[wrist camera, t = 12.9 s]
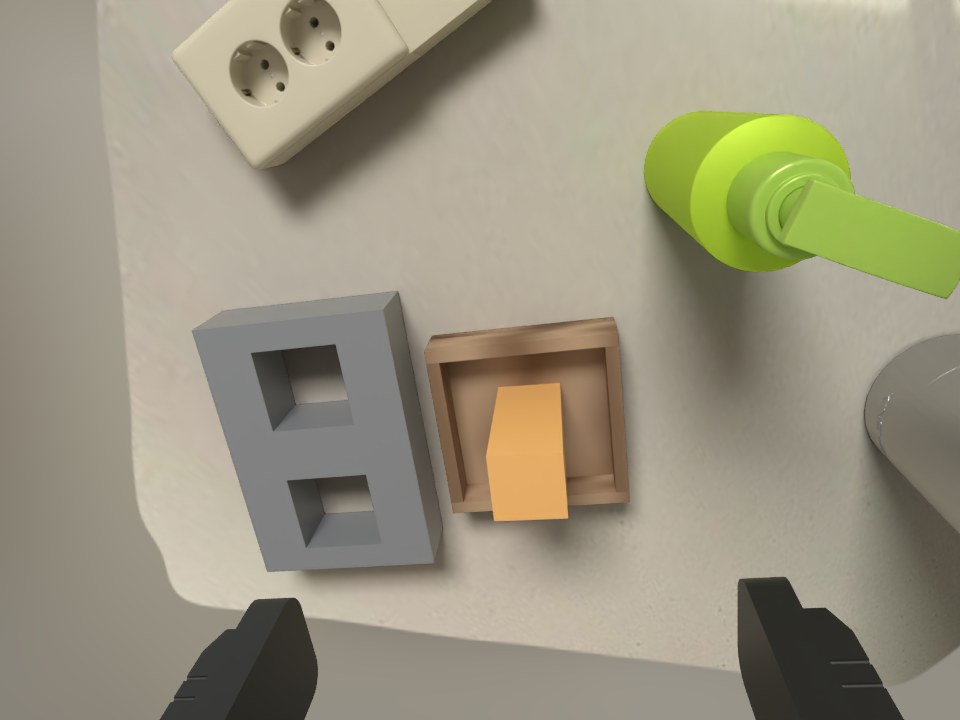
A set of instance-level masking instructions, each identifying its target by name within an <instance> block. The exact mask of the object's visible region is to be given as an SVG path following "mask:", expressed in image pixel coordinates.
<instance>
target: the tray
mask: <svg viewBox="0 0 960 720" xmlns="http://www.w3.org/2000/svg"><path fill="white" fill-rule="evenodd" d="M424 354H425V360H426V365H427V371H428V376H429V382H430V387H431V393H432V398H433V404H434V409H435V415H436V420H437V426H438V431H439V437H440V442H441V448H442V453H443V459H444V464H445V470H446V475H447V481H448V486H449V492H450V497H451V503H452V508H453V513H465V512H480V511H493V508H492V501H491V493H490V485H489V477H488V469H487V461H486V454H487V448H488V442H489V437H490V431H491V425H492V420H493V414H494V408H495V403H496V397H497V391H498V387H509V386H524V385H539V384H554V383H560V388H561V401H562V414H563V427H564V440H565V461H566V482H567V502H568V506H576V505H592V504H608V503H624V502H630V497H629V483H628V468H627V454H626V439H625V425H624V410H623V396H622V381H621V367H620V352H619V338H618V331H617V327H616V324H615V321H614V317H609V318H599V319H589V320H580V321H570V322H560V323H551V324H541V325H531V326H521V327H512V328H502V329H492V330H482V331H473V332H463V333H453V334H443V335H434V336H432V337H431V339H430V341H429V343H428V345H427V347H426V349H425V351H424Z"/></svg>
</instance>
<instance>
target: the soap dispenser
mask: <svg viewBox="0 0 960 720" xmlns="http://www.w3.org/2000/svg"><path fill="white" fill-rule="evenodd" d="M644 177H645V183H646V186H647V189H648V192H649V194H650V195H651V197H652V199H653V200H654V201H655V203H656V204H657V205H658V206H659V207H660V208H661V209H662V210H663V211H665V212H666V213H667V214H668V215H669V216H670V217H671V218H672V219H673V220H674V221H675V222H676V223H678V224H679V225H680V226H681V227H682V228H683V229H684V230H685V231H686V232H687V233H688V234H689V235H691V236H692V237H693V238H694V239H695V240H696V241H697V242H698V243H699V244H700V245H701V246H702V247H703V248H705V249H706V250H707V251H708V252H709V253H710V254H711V255H712V256H713V257H715V258H716V259H717V260H719V261H721V262H722V263H724V264H726V265H728V266H730V267H733V268H736V269H739V270H744V271H750V272H768V271H774V270H779V269H783V268H786V267H789V266H791V265H794V264H796V263H798V262H800V261H802V260H804V259H808V258H812V257H815V256H820V257H822V258H825V259H828V260H831V261H834V262H837V263H839V264H842V265H845V266H848V267H851V268H854V269H856V270H859V271H862V272H865V273H868V274H871V275H874V276H877V277H880V278H882V279H885V280H888V281H891V282H894V283H897V284H900V285H903V286H906V287H910V288H913V289H916V290H919V291H922V292H925V293H928V294H931V295H935V296H938V297H941V298H945V299H947V298H948V297H949V296H950V295H951V293H952V292H953V290H954V289H955V287H956V286H957V284H958V282H959V281H960V231H958V230H955V229H952V228H950V227H947V226H944V225H941V224H939V223H936V222H933V221H930V220H927V219H925V218H922V217H919V216H916V215H913V214H910V213H908V212H905V211H902V210H899V209H896V208H893V207H890V206H888V205H885V204H882V203H879V202H876V201H873V200H870V199H868V198H865V197H862V196H859V195H856V194H855V190H854V187H853V184H852V182H851V174H850V168H849V164H848V160H847V157H846V155H845V153H844V151H843V149H842V147H841V145H840V144H839V142H838V141H837V140H836V139H835V137H834V136H833V135H832V134H831V133H830V132H829V131H827V130H826V129H825V128H824V127H822V126H821V125H819V124H817V123H815V122H813V121H811V120H808V119H806V118H802V117H799V116H793V115H780V114H758V113H736V112H714V111H697V112H691V113H688V114H685V115H682V116H680V117H678V118H676V119H674V120H673V121H671V122H670V123H668V124H667V125H666V126H665V127H664V128H663V129H662V130H661V131H660V132H659V133H658V134H657V135H656V137H655V138H654V140H653V141H652V143H651V145H650V147H649V149H648V152H647V155H646V159H645V165H644Z"/></svg>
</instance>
